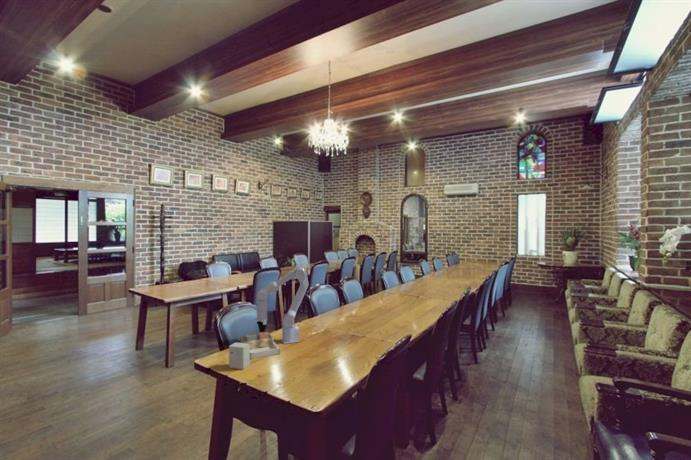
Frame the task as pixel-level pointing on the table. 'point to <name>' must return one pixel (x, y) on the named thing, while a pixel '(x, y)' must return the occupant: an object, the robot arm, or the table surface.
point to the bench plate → (258, 342)
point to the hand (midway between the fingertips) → (262, 333)
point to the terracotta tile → (263, 335)
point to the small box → (239, 355)
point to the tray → (265, 351)
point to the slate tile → (251, 337)
